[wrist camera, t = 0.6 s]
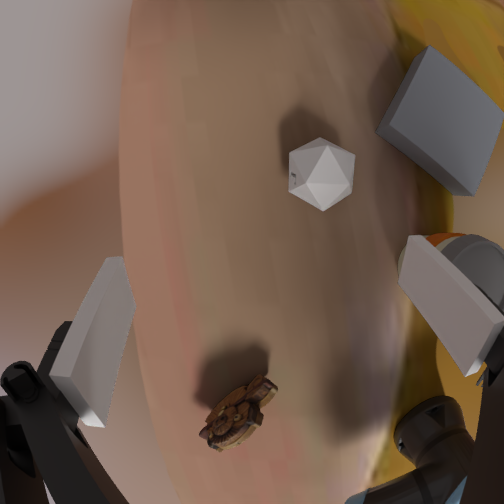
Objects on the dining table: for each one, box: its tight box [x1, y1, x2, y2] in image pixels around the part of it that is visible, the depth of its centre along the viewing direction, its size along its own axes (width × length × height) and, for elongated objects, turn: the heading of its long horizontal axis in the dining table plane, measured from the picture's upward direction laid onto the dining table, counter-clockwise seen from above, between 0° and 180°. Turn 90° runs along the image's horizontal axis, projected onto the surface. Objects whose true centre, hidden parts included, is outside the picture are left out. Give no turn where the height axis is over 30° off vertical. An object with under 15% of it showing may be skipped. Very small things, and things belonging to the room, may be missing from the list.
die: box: [289, 137, 355, 211], centre depth 37 cm, size 8×9×10 cm
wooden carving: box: [199, 374, 278, 452], centre depth 43 cm, size 16×5×10 cm, turn 142°
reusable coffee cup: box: [398, 233, 504, 312], centre depth 35 cm, size 13×13×15 cm
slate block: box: [375, 45, 504, 196], centre depth 35 cm, size 16×16×6 cm
